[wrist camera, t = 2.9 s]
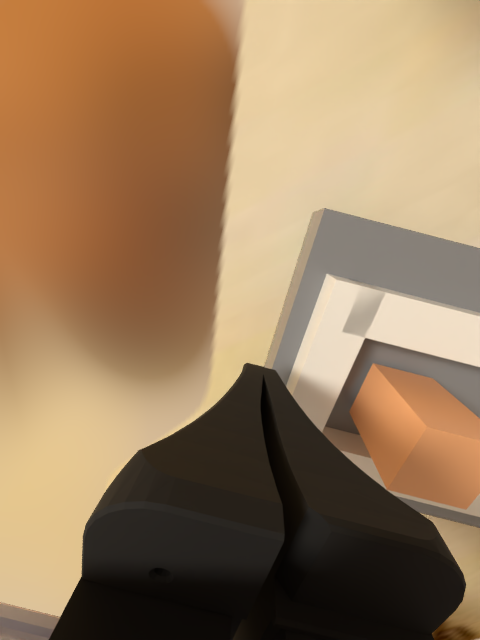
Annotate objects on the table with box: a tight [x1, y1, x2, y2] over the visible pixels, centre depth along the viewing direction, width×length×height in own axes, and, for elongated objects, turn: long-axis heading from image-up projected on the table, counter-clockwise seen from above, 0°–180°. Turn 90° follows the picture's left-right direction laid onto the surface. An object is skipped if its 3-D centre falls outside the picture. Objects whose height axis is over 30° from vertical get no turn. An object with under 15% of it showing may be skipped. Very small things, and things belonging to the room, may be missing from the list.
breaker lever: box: [349, 363, 480, 510], centre depth 11 cm, size 3×3×4 cm
